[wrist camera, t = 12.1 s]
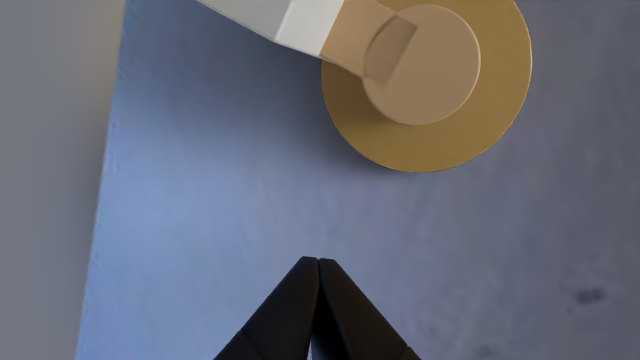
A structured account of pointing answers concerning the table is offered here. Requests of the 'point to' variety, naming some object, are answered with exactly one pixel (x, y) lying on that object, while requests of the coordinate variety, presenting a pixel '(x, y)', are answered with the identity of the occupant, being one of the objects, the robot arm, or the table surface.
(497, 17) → the swivel base
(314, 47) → the block on round stand
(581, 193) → the table surface
